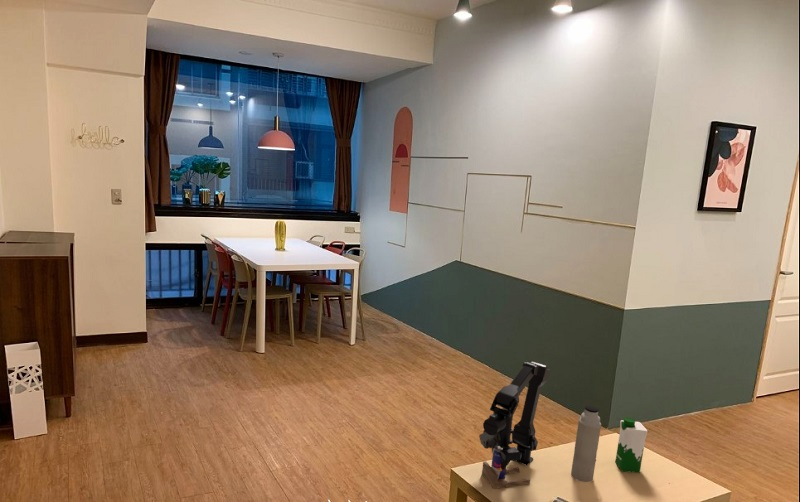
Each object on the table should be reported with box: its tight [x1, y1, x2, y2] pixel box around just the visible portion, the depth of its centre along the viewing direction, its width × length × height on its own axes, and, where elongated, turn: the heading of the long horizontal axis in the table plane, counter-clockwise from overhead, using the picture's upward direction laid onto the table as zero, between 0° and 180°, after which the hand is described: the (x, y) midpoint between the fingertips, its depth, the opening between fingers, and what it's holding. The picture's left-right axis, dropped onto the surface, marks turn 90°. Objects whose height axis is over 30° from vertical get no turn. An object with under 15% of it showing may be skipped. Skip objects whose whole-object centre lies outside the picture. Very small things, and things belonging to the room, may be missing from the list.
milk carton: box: [614, 417, 648, 474], centre depth 211 cm, size 9×9×20 cm
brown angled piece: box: [481, 461, 531, 489], centre depth 197 cm, size 15×9×5 cm, turn 107°
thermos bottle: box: [570, 404, 602, 483], centre depth 201 cm, size 8×8×28 cm
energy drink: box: [490, 446, 507, 479], centre depth 195 cm, size 5×5×12 cm
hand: (498, 465), depth 195 cm, fingers closed on energy drink, 5 cm apart
